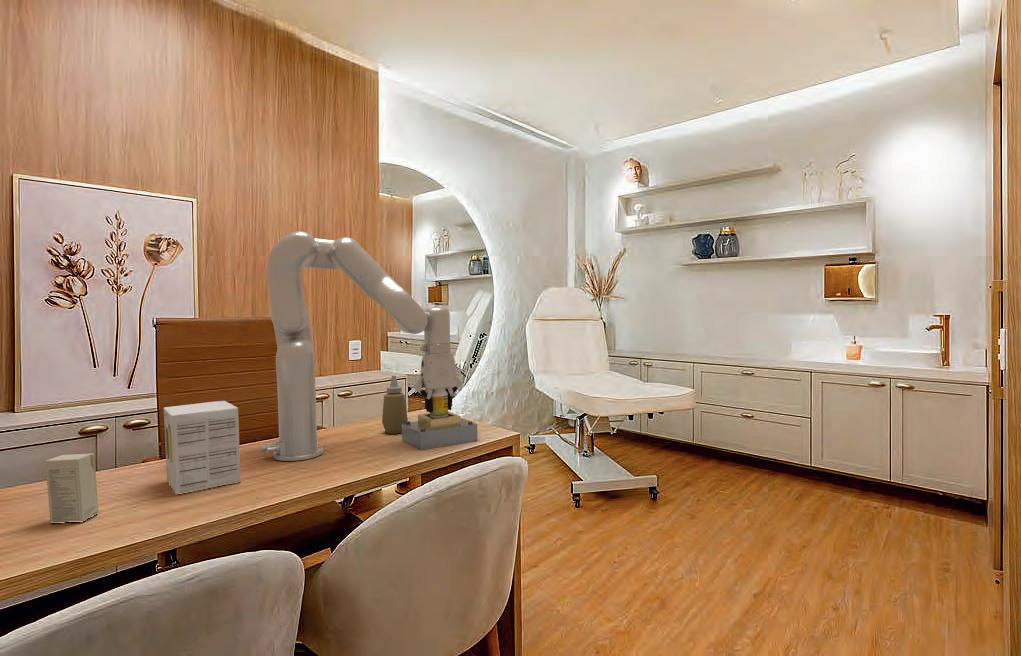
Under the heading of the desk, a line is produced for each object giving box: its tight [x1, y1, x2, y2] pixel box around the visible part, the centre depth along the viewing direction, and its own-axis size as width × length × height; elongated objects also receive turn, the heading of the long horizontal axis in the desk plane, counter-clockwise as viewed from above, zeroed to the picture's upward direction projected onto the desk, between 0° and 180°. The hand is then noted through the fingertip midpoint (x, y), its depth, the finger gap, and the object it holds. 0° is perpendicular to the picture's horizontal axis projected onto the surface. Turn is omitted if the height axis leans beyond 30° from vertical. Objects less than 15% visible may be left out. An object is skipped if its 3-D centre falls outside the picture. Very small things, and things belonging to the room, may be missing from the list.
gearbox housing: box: [401, 411, 479, 451], centre depth 159 cm, size 18×14×8 cm
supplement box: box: [163, 400, 241, 495], centre depth 123 cm, size 13×13×18 cm
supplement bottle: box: [429, 388, 449, 418], centre depth 158 cm, size 5×5×10 cm
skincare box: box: [44, 452, 100, 522], centre depth 102 cm, size 6×4×12 cm
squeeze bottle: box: [381, 375, 409, 435], centre depth 170 cm, size 8×8×18 cm
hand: (438, 409), depth 158 cm, fingers closed on supplement bottle, 5 cm apart
